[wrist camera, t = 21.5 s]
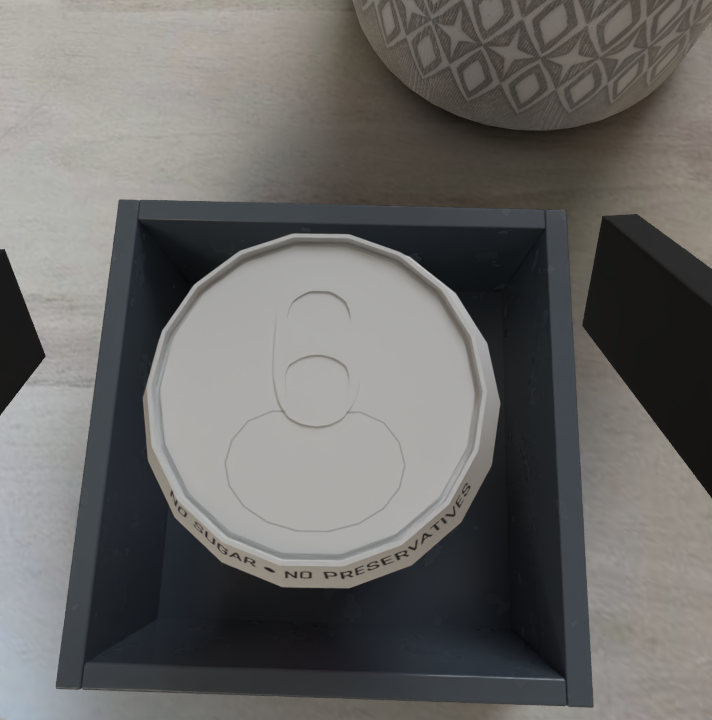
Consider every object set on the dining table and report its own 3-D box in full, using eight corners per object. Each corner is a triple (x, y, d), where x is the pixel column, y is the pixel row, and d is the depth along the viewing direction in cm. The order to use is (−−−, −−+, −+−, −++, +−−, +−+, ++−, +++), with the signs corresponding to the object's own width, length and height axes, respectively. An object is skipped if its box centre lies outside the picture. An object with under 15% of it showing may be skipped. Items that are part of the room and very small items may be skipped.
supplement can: (432, 541, 26) (527, 603, 11) (244, 538, 26) (93, 596, 11) (429, 360, 28) (509, 209, 13) (254, 358, 28) (135, 205, 13)
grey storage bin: (142, 633, 26) (54, 689, 18) (179, 273, 29) (118, 198, 22) (525, 645, 25) (594, 708, 18) (514, 281, 29) (566, 209, 22)
